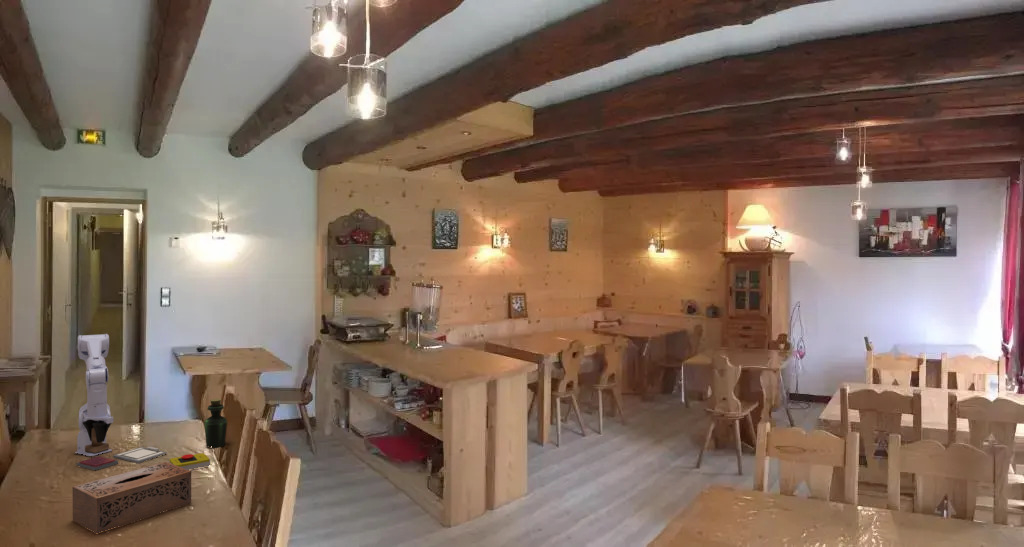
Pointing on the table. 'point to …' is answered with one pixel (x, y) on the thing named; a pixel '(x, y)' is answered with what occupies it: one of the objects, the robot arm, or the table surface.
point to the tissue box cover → (130, 496)
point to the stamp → (96, 445)
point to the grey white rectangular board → (139, 454)
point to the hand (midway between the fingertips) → (97, 441)
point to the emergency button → (191, 461)
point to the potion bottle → (215, 425)
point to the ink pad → (97, 463)
